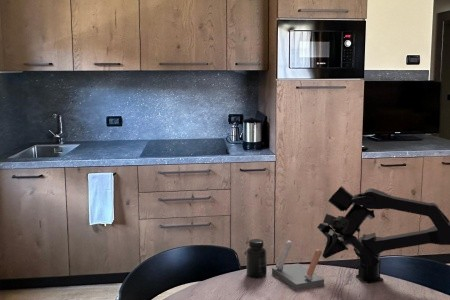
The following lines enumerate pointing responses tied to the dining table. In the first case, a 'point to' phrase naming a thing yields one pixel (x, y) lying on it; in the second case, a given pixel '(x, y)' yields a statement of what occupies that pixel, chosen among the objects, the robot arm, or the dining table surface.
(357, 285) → the dining table surface
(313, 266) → the terracotta lever
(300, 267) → the switch panel
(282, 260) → the pale grey lever
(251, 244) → the supplement bottle
